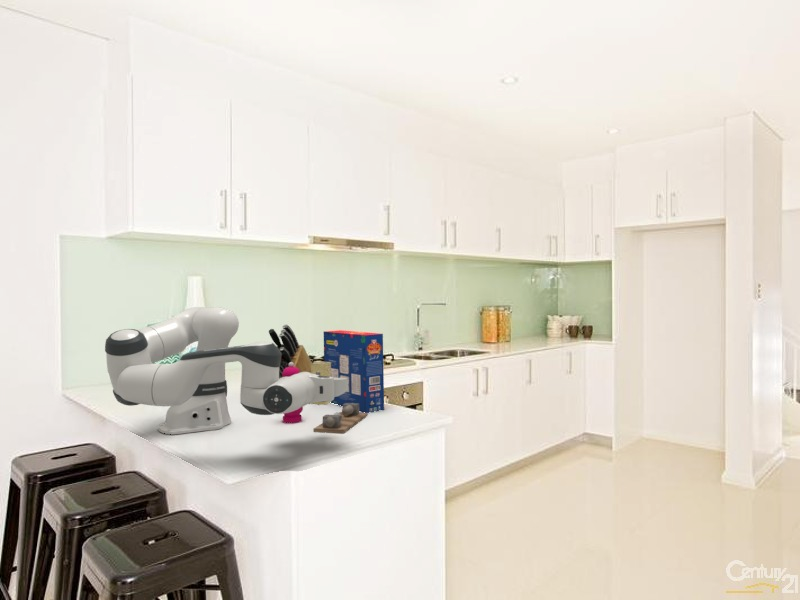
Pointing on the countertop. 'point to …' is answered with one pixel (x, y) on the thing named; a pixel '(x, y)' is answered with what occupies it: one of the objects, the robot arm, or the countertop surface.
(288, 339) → the knife block
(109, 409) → the countertop surface
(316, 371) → the block
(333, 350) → the pasta box
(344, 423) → the shaft bench
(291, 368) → the pepper mill
